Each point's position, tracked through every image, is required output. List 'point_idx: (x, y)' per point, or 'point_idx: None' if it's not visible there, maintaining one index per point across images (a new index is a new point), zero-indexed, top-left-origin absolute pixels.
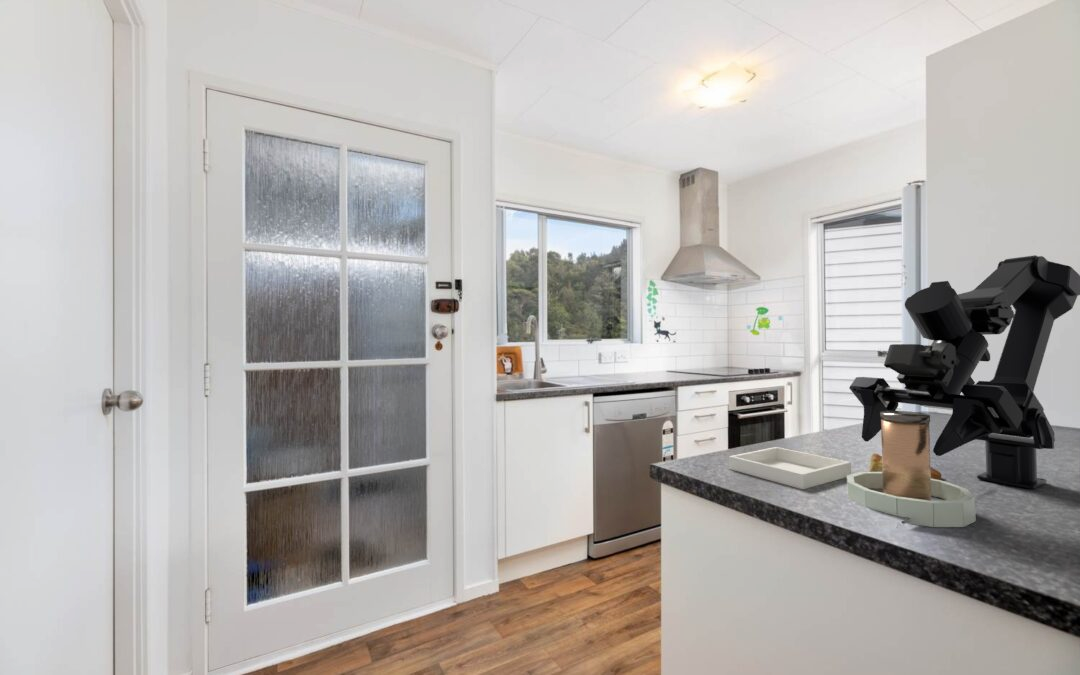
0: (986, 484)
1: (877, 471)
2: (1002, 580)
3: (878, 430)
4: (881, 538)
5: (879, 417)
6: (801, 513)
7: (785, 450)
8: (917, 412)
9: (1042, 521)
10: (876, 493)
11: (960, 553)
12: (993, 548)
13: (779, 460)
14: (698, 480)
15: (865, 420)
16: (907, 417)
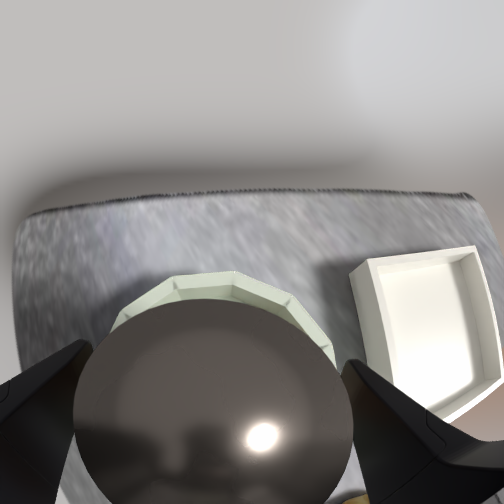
0: None
1: (364, 499)
2: (48, 212)
3: (358, 450)
4: (158, 204)
5: (392, 478)
6: (276, 193)
7: (491, 385)
8: None
9: (87, 495)
10: (212, 273)
11: (83, 245)
12: (64, 303)
13: (480, 379)
14: (429, 193)
15: (403, 399)
16: (126, 323)
